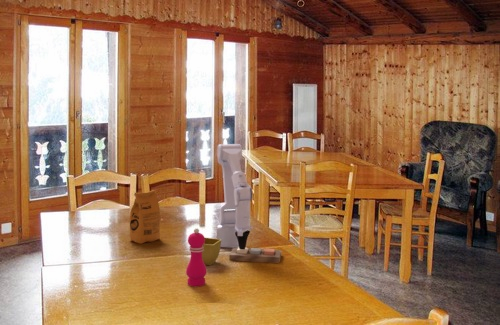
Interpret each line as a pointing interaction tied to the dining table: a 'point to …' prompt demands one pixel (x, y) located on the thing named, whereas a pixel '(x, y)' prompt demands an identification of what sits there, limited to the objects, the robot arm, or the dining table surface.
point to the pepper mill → (196, 260)
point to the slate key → (255, 251)
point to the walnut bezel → (255, 256)
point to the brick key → (269, 252)
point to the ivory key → (242, 251)
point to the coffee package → (145, 218)
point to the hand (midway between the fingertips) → (242, 248)
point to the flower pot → (211, 250)
